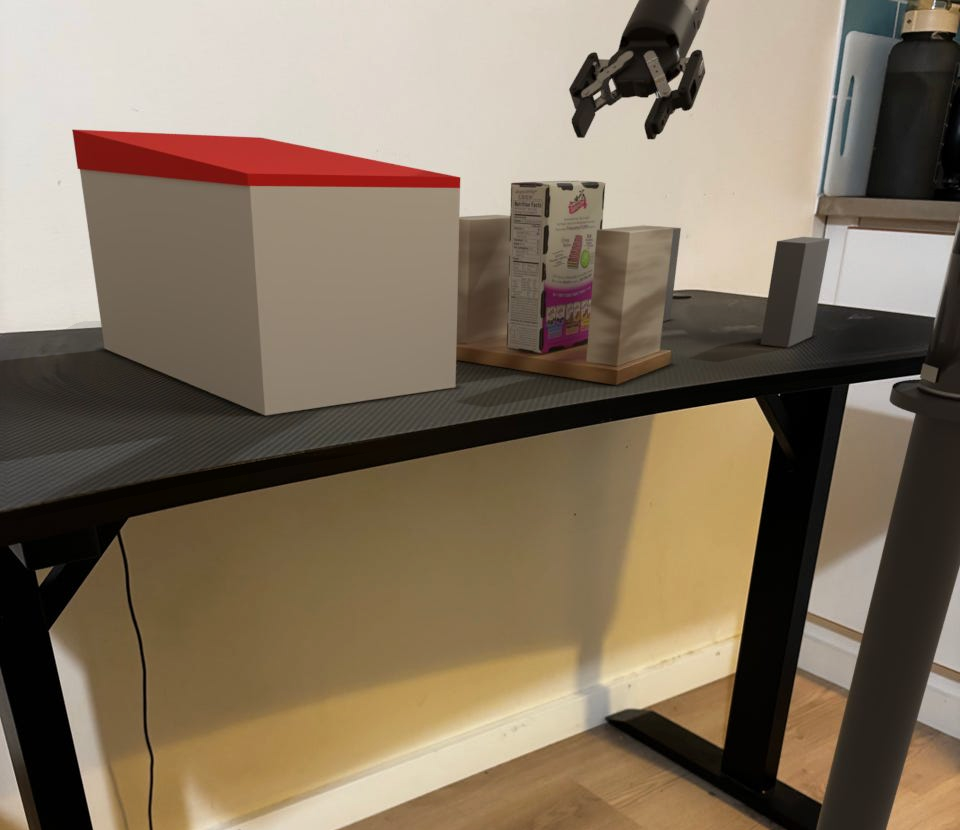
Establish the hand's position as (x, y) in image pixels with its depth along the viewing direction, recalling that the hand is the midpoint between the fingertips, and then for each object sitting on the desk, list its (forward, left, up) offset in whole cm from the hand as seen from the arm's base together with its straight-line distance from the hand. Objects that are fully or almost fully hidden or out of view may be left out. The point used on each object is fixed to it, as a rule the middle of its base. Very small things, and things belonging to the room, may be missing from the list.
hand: (612, 132), depth 105 cm
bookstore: (+20, +35, -23) cm, 46 cm away
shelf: (0, +12, -23) cm, 26 cm away
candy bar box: (0, +12, -21) cm, 24 cm away
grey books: (-7, -21, -23) cm, 32 cm away
